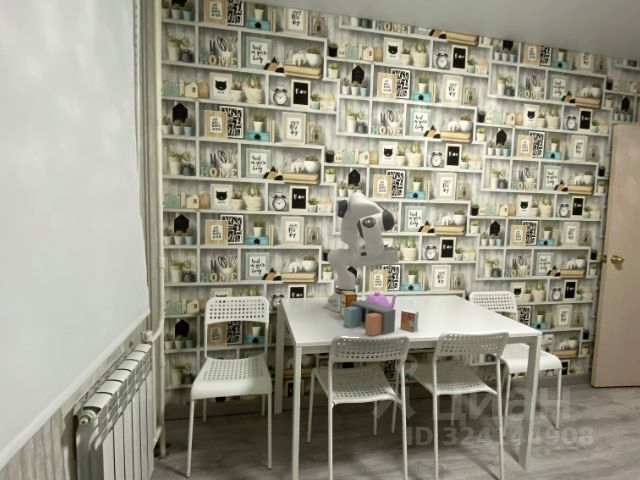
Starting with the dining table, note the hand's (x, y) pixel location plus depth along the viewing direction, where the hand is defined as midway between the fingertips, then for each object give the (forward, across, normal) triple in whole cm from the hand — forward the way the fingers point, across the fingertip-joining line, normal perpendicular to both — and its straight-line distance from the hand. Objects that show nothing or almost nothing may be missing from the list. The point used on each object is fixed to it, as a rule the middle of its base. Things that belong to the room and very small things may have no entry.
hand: (381, 269), depth 208 cm
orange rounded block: (+30, +8, +14) cm, 35 cm away
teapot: (+49, +12, -18) cm, 54 cm away
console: (+35, +12, +6) cm, 37 cm away
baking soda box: (+38, +28, -5) cm, 47 cm away
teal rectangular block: (+32, +22, +6) cm, 40 cm away
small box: (+40, -8, +4) cm, 41 cm away
